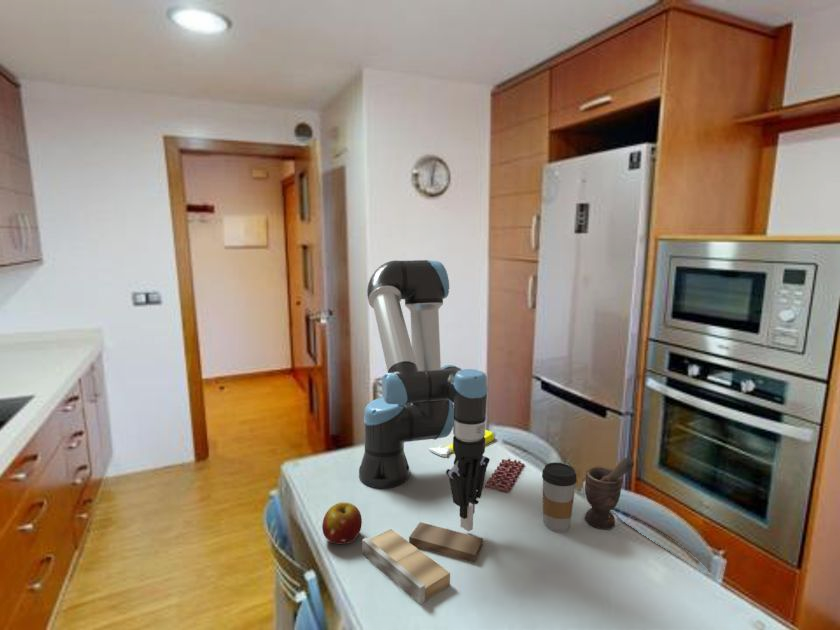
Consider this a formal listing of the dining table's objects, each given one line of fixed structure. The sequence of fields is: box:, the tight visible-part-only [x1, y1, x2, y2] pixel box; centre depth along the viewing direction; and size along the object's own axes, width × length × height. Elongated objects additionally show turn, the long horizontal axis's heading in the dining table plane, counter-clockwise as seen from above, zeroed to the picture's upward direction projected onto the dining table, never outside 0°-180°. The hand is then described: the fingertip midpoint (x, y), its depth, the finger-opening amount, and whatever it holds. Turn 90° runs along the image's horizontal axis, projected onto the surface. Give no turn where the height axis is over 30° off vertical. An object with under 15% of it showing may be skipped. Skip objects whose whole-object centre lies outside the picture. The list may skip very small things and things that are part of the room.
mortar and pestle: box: [584, 456, 635, 530], centre depth 122 cm, size 12×9×20 cm
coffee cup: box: [541, 462, 577, 533], centre depth 122 cm, size 8×8×15 cm
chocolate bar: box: [483, 458, 526, 494], centre depth 148 cm, size 7×19×2 cm, turn 154°
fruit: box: [321, 501, 363, 545], centre depth 116 cm, size 10×9×8 cm
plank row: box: [361, 528, 451, 605], centre depth 106 cm, size 20×8×4 cm, turn 41°
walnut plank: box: [408, 521, 484, 564], centre depth 114 cm, size 16×6×2 cm, turn 67°
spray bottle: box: [428, 429, 495, 458], centre depth 169 cm, size 3×11×24 cm
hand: (466, 527), depth 119 cm, fingers closed
